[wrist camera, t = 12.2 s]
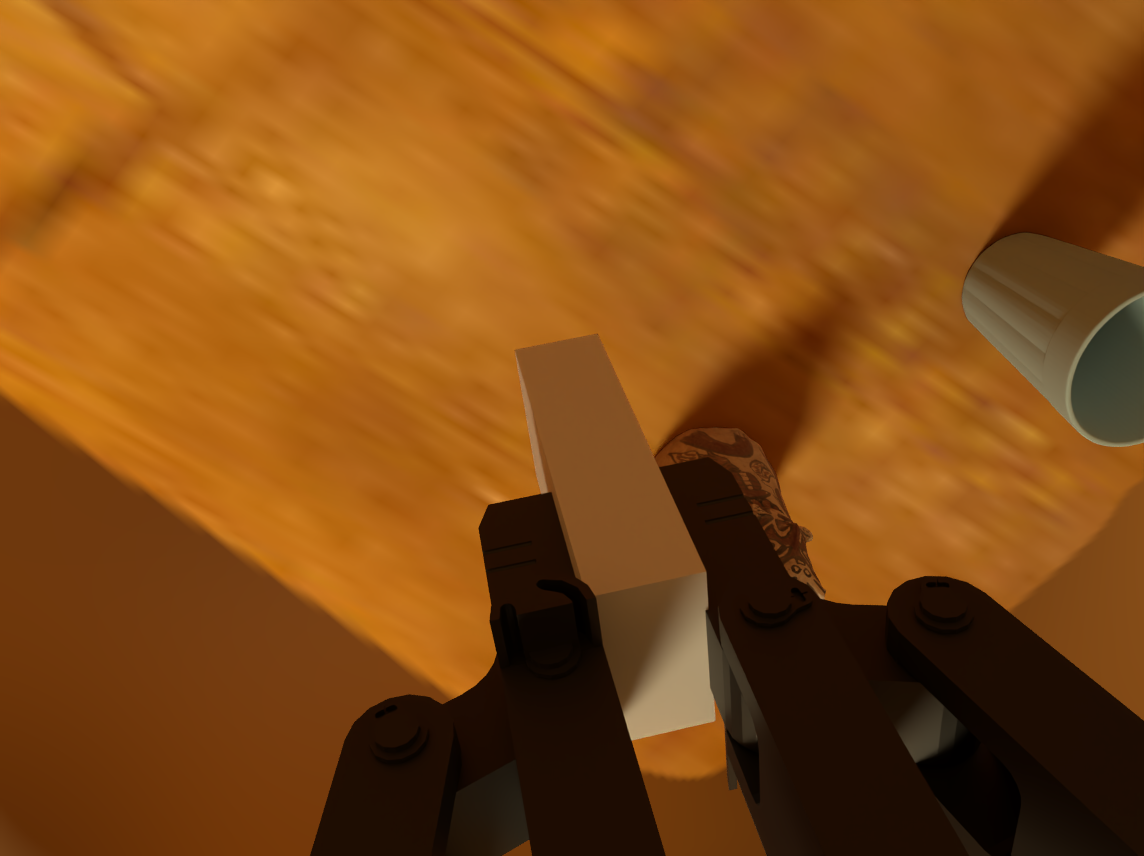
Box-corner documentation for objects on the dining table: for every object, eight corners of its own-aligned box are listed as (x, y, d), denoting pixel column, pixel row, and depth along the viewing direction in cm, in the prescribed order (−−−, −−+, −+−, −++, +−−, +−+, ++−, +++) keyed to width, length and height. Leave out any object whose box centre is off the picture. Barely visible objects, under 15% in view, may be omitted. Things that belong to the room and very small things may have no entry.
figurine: (793, 468, 54) (897, 606, 44) (705, 558, 56) (786, 712, 45) (702, 401, 51) (791, 534, 40) (613, 500, 53) (676, 650, 42)
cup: (913, 332, 51) (1034, 427, 42) (988, 191, 48) (1135, 261, 39) (1027, 366, 54) (1164, 462, 45) (1104, 234, 51) (1267, 309, 42)
